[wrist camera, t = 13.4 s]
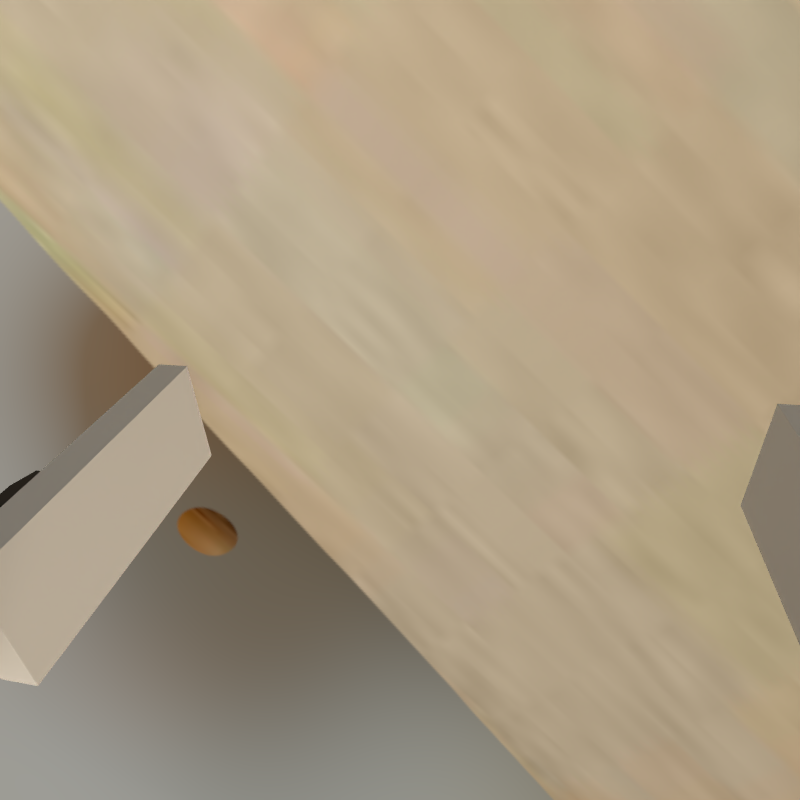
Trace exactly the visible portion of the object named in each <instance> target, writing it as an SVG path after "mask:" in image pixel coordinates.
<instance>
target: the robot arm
mask: <svg viewBox="0 0 800 800" xmlns="http://www.w3.org/2000/svg"><path fill="white" fill-rule="evenodd" d="M210 457H211V452H210V449H209V445H208V442H207V438H206V434H205V430H204V427H203V423H202V419H201V415H200V412H199V408H198V404H197V401H196V397H195V393H194V390H193V386H192V382H191V379H190V375H189V371H188V368H187V366H175V365H160V364H159V365H158V366H157V367H156V368H154V369H153V370H152V371H151V372H150V373H149V374H148V375H147V376H146V377H144V379H142V380H141V381H140V382H139V383H138V384H137V385H136V386H134V387H133V388H132V389H131V390H130V391H129V392H128V393H127V394H126V395H124V397H122V398H121V399H120V400H119V401H118V402H117V403H116V404H115V405H113V406H112V407H111V408H110V409H109V410H108V411H107V412H106V413H105V414H104V415H102V416H101V417H100V418H99V419H98V420H97V421H96V422H95V423H93V424H92V425H91V426H90V427H89V428H88V429H87V430H86V431H85V432H84V433H82V434H81V435H80V436H79V437H78V438H77V439H76V440H75V441H74V442H72V443H71V444H70V445H69V446H68V447H67V448H66V449H65V450H64V451H62V452H61V453H60V454H59V455H58V456H57V457H56V458H55V459H54V460H52V461H51V462H50V463H49V464H48V465H47V466H46V467H45V468H44V469H43V470H41V471H35V472H33V473H31V474H30V475H28V476H26V477H24V478H22V479H21V480H19V481H17V482H16V483H14V484H12V485H10V486H9V487H8V488H7V489H5V491H3V492H2V493H1V494H0V678H1V679H4V680H9V681H15V682H20V683H25V684H30V685H36V686H38V685H39V684H40V682H41V681H42V680H43V679H44V677H45V676H46V675H47V673H48V672H49V671H50V669H51V668H52V667H53V665H54V664H55V663H56V661H57V660H58V659H59V657H60V656H61V655H62V653H63V652H64V651H65V649H66V648H67V647H68V645H69V644H70V643H71V641H72V640H73V639H74V637H75V636H76V635H77V633H78V632H79V631H80V630H81V628H82V627H83V626H84V624H85V623H86V621H87V620H88V619H89V618H90V616H91V615H92V613H93V612H94V611H95V610H96V608H97V607H98V606H99V604H100V603H101V602H102V600H103V599H104V598H105V596H106V595H107V594H108V592H109V591H110V590H111V588H112V587H113V586H114V584H115V583H116V582H117V580H118V579H119V578H120V576H121V575H122V573H123V572H124V571H125V570H126V568H127V567H128V566H129V564H130V563H131V562H132V560H133V559H134V558H135V556H136V555H137V554H138V552H139V551H140V550H141V548H142V547H143V546H144V544H145V543H146V542H147V540H148V539H149V538H150V537H151V535H152V534H153V532H154V531H155V530H156V529H157V527H158V526H159V525H160V523H161V522H162V521H163V519H164V518H165V517H166V515H167V514H168V512H169V511H170V510H171V509H172V507H173V506H174V505H175V503H176V502H177V501H178V499H179V498H180V497H181V495H182V494H183V493H184V491H185V490H186V489H187V487H188V486H189V484H190V483H191V482H192V481H193V479H194V478H195V477H196V475H197V474H198V473H199V471H200V470H201V469H202V467H203V466H204V465H205V463H206V462H207V461H208V459H209V458H210ZM741 507H742V510H743V512H744V514H745V517H746V519H747V521H748V524H749V526H750V528H751V531H752V533H753V536H754V538H755V540H756V543H757V545H758V547H759V550H760V552H761V554H762V557H763V559H764V562H765V564H766V566H767V569H768V571H769V573H770V576H771V578H772V581H773V583H774V585H775V588H776V590H777V592H778V595H779V597H780V599H781V602H782V604H783V607H784V609H785V611H786V614H787V616H788V618H789V621H790V623H791V625H792V628H793V630H794V633H795V635H796V637H797V640H798V642H799V644H800V405H787V404H777V407H776V410H775V412H774V415H773V418H772V421H771V423H770V426H769V429H768V432H767V434H766V437H765V440H764V443H763V445H762V448H761V451H760V454H759V456H758V459H757V462H756V465H755V468H754V470H753V473H752V476H751V479H750V481H749V484H748V487H747V490H746V492H745V495H744V498H743V501H742V503H741Z"/></svg>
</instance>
